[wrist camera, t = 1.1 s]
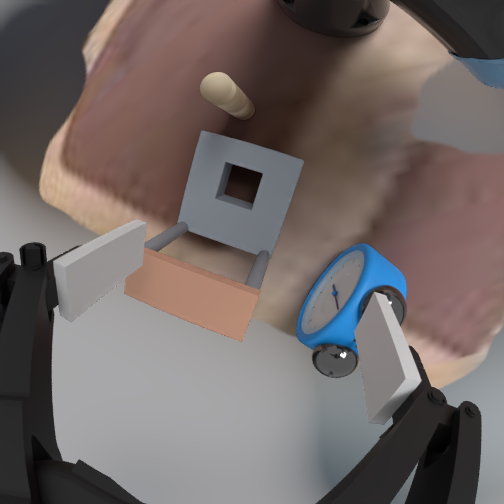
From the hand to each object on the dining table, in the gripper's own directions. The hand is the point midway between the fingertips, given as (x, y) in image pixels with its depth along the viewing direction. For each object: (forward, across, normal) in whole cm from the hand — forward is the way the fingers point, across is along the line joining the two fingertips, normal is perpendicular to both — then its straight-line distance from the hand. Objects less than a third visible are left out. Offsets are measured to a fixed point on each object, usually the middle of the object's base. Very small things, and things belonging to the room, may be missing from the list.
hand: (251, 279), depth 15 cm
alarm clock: (+22, +10, -7) cm, 25 cm away
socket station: (+21, -6, -2) cm, 22 cm away
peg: (+22, -8, +10) cm, 25 cm away
